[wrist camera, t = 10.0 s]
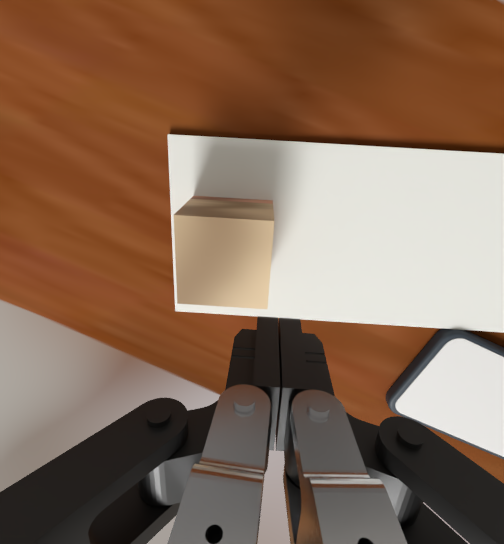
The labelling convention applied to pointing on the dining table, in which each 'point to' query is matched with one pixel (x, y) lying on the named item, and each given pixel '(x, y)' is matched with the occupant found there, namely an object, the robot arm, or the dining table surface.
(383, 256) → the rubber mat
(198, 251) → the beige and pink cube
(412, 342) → the dining table surface
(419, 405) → the phone case
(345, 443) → the robot arm
